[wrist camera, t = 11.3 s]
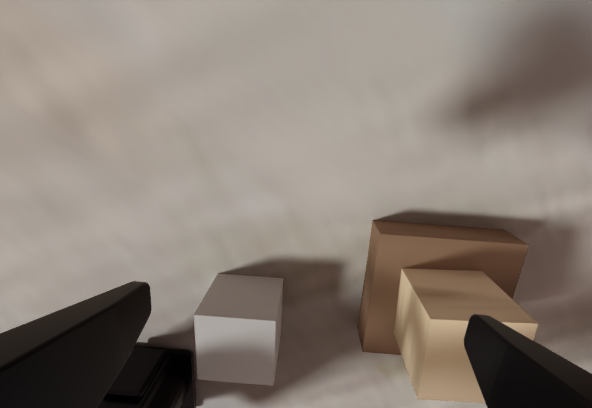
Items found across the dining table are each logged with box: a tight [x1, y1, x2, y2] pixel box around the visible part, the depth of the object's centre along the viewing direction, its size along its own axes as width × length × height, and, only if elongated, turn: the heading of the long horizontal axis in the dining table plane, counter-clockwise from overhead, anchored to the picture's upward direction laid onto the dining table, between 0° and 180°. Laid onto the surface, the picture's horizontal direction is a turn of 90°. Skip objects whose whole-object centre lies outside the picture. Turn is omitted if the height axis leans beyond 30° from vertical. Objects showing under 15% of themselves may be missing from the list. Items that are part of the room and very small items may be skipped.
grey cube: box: [194, 274, 283, 386], centre depth 21 cm, size 5×5×5 cm
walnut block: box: [358, 220, 529, 355], centre depth 21 cm, size 9×9×3 cm
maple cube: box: [394, 268, 538, 403], centre depth 18 cm, size 5×5×5 cm
